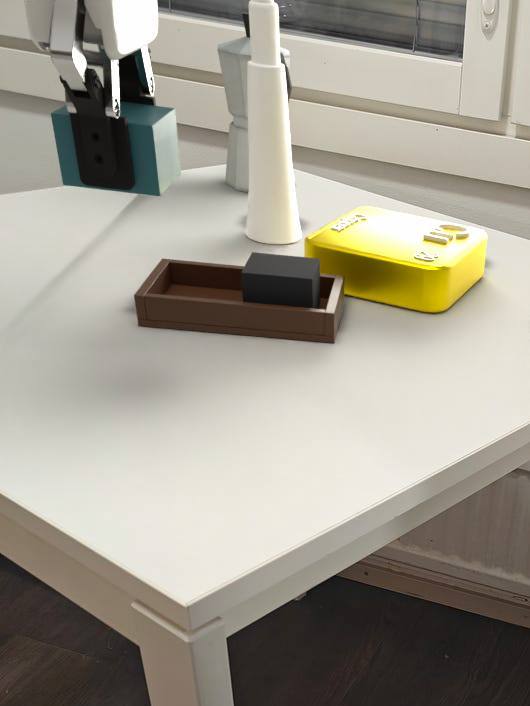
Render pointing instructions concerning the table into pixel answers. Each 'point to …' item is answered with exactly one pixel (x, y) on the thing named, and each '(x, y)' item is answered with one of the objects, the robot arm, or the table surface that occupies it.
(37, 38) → the robot arm
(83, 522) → the table surface
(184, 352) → the table surface
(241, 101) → the coffee maker
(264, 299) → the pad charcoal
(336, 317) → the tray
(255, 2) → the cosmetic bottle
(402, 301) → the element tile
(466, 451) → the table surface
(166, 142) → the teal block
